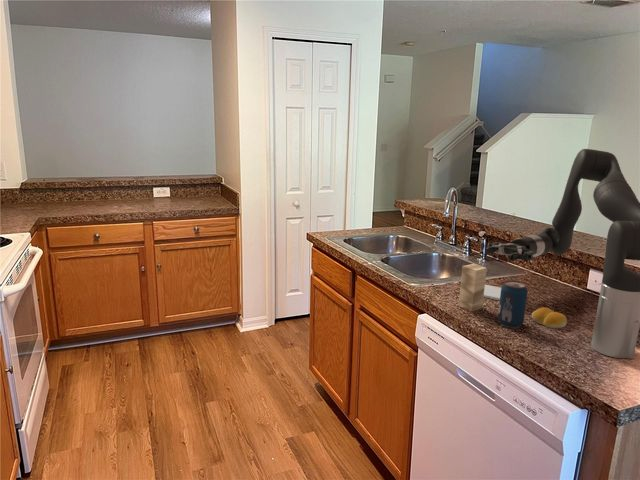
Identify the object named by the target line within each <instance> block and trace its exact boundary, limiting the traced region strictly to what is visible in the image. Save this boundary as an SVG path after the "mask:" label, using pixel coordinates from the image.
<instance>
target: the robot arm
mask: <svg viewBox="0 0 640 480" xmlns="http://www.w3.org/2000/svg"><path fill="white" fill-rule="evenodd" d="M618 161H619V160H618V158H617V156H616V155H614V154H613V153H611V152H609V151H604V150H597V149H590V148H582V149H581V150H579V152H578V153H577V154H576V156H575V158H574V160H573V163H572V165H571V169H570V172H569V175H568V179H567V180H566V181H567V182H566V185H565V188H564V192H563V195H562V198H561V201H560V203H559V206H558V208H557V209H556V212H555V214H554V216H553V218H552V221H551V225H552V227H550V226H549V227H546V228H544V229H543V230H541V232H539V233H538V234H534V235H531V234H530V235H524V236H521V237H516V238H514V239H513V240H512V241H511V242H510V243H509V242H508V243H503V242H502V241H495V242H491V243H488V246H487V247H485V253H484V254H485V255H491V254H499V255H501V256H504V255H505V256H508V261H509V262H514V261H523V262H530V261H533V260H536V257H538V256H543V255H545V254H549V253H550V252H551V253H553V254H554V255H557V256H562V255H565V254H566V253H568V251H569V249H571V245H572V243H573V235H574V230H575V229H574V228H575V226H576V224H577V223H578V221H579V218H580V217H581V214H582V210H583V205H582V200H581V197H580V192H579V185H580V184H579V183H580V181H581V180H585V181H586V180H588V181H594V182H599V183H598V184H596V186H595V188H594V191H593V195H592V197H593V200H594V203H595V205H596V208H597V209H598V211H599V213H600V214H601V215H602V216H603V217H605V218H606V219H607V220H610V221H611V222H612V223H611V225H610V226H609V228H608V231H607V237H606V243H605V244H606V245H605V253H604V254H605V255H604V262H603V269H602V280H601V285H600V291H599V297H598V304H597V309H596V313H595V320H594V325H593V332H592V337H591V342H590V343H591V344H590V346H591V349H593V350H594V351H596V352H598V353H599V354H602V355H603V356H607V357H611V358H615V359H630V360H634V355H635V351H636V347H637V341H638V337H639V336H638V335H639V330H640V273H639V272H637V271H634V270H632V269H630V268H628V267H626V266H625V260H629V261H630V260H631V261H640V200H639V199H638V198H637V195H636V193H635V192H634V191H633V188H632V187H631V186H630V184H629V183H628V182H627V180H626V178H625V176H624V174H623V172H622V169H621V166H620V164H619V162H618Z"/></svg>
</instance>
